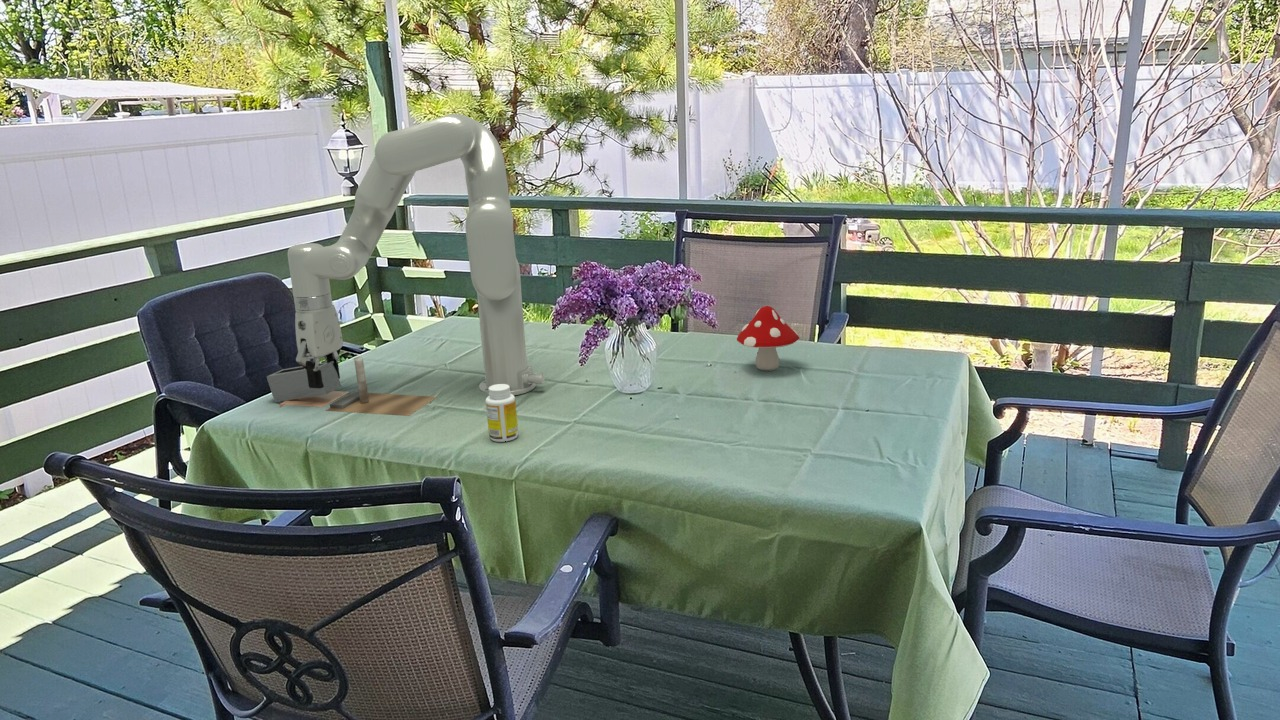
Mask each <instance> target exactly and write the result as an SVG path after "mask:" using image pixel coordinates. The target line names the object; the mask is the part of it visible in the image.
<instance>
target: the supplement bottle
mask: <svg viewBox="0 0 1280 720" xmlns="http://www.w3.org/2000/svg"><path fill="white" fill-rule="evenodd" d="M485 409H486V418H487V427H488V435H489V436H488V437H489V439H490V440H491V441H493V442H497V443H504V442H505V441H506V442H510V441H513V440H515V439H517V438H518V436H519V425H518V417H517V414H518V413H517V407H516V398H515V395H512V394H510V386H509V385H507V384H496V385H492V386H490V387H489V393H488V396H487V397H485Z"/></svg>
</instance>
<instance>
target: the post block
mask: <svg viewBox="0 0 1280 720" xmlns="http://www.w3.org/2000/svg"><path fill="white" fill-rule="evenodd" d="M353 360H354V368H355V376H356V382H357V388H358V390H353V391H352V392H349V393H347V394H346V395H344V396H342V397H340V398H338V399H336V400H335V401H333V402H331V403H329V408H327V409H325V411H326V412H341V413H359V414H370V415H389V416H390V415H391V416H403V417H404V416H405V417H410V416H411V415H413V414H414V413H416V412H418V410H421V409H422V408H423V407H425V406H427V405H428V404H429V403H431V402H432V401H433V400H434V401H435V399H438V396H433V395H431V396H430V395H413V394H398V393H397V394H396V393H395V394H394V393H380V392H379V393H375V392H374V393H373V392H368V386H367V385H368V384H367V378H366V372H365V371H366V370H365V364H364V357H363V356H355V357H354V358H353Z"/></svg>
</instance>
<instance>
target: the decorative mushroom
mask: <svg viewBox="0 0 1280 720" xmlns="http://www.w3.org/2000/svg"><path fill="white" fill-rule="evenodd" d="M799 340H800V336H799V334H798V332H797V331H796V330H794V329H793V328H791V326H789V324H787V323H786V322H785V319H783V318H782V317H781V316H780V315H779V313H778V312H777V311H776V310H775V309H774V307H772V306H771V305H770V306H769V305H765V306H762V307H760V308H759V309H758V310H757V311H756V313H755V314H754V317H753V318H752V319H751V320H750V321H749V322H748V323H747V324H745V325H744V326H743V327H742V329H741V330H740V332H739V333H738V334H737V337H736V341H737V342H738V343H739V344H741V345H743V346H745V347H748V348H756V349H757V348H758V351H757V353H756V358H755V361H754V364H755V367H756V368H757V369H759V370H761V371H764V372H765V371H766V372H767V371H769V372H771V371H774V370H776V369H778V368H779V366H780V363H781V362H780V358H779V354H778V351H777V348H782V347H787V346H790V345H792V344H794V343H796V342H797V341H799Z"/></svg>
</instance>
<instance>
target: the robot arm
mask: <svg viewBox="0 0 1280 720" xmlns="http://www.w3.org/2000/svg"><path fill="white" fill-rule="evenodd" d="M458 159H460V160H461V161H462V164H463V167H464V173H465V174H464V175H465V177H464V178H465V183H466V185H465V186H466V189H467V199H468V212H467V214H466V218H465V222H464V223H465V224H464V225H465V238H466V245H467V253H468V260H469V261H468V262H469V270H470V279H471V282H472V283H471V284H472V286H473V288H474V289H475V291H476V295H477V296H476V297H477V308H478V309H477V310H478V316H479V317H478V319H479V331H480V340H481V349H482V358H483V359H482V360H483V369H484V371H483V372H484V380H483V381H481V382H480V384H479V385H478V390H479V391H481V392H483V393H485V394H489V387H490V386H492V385H496V384H507V385H509V386H510V394H512V395H514V396H518V395H523V394H526V393H528V392H530V391H532V390H534V389H535V388H536V386H537V384H538V385H544V383H545V382H546V379H545V375H544V372H534V371H533V365H528V359H527V358H528V355H527V346H526V336H525V335H526V334H525V323H524V311H523V310H524V309H523V297H522V295H523V294H522V282H521V269H520V268H521V267H520V264H519V261H518V259H517V257H516V256H517V254H516V244H515V235H514V234H515V233H514V217H513V216H514V215H513V211H512V209H511V208H512V206H511V200H510V193H509V185H508V178H507V169H506V164H505V159H504V154H503V151H502V147H501V146H500V143H499V142H498V139H497V138H496V137H495V135H494V134H493V133H492V131H490V130H489V128H487V127H486V126H485V125H484V124H482V123H481V122H479V121H478V120H475V119H474V118H472V117H469V116H466V115H464V114H460V113H459V114H458V113H451V114H447V115H444V116H440V117H437V118H435V119H431V120H428V121H426V122H425V121H423V122H421V123H419V124H418V123H417V124H415V125H412V126H409V127H404V128H400V129H397V130H393V131H388V132H386V133H384V134H383V135H382V136H381V137H379V139H378V140H377V142H376V144H375V147H374V157H373V159H372V161H371V163H370V164H369V167H368V169H367V171H366V172H365V174H364V175H363V178H362V180H361V181H360V184H359V185H358V187H357V189H356V192H355V195H354V207H353V210H352V213H351V215H350V217H349V220H348V222H347V224H346V225H345V227H344V230H343V231H342V233H341V234H340V237H339V239H338V240H337V241H336V242H335V243H333V244H332V245H331V244H330V245H326V246H323V245H321V244H319V243H315V242H311V243H309V242H308V243H301V244H295V245H294V244H293V245H291V246H290V247H289V248H288V250H287V259H288V260H287V261H288V267H289V269H288V270H289V273H290V274H289V275H290V282H291V287H292V288H291V289H292V293H293V294H292V295H293V301H294V308H295V309H294V310H295V314H294V315H295V319H294V321H295V323H294V326H295V327H294V328H295V338H296V340H295V341H296V347H297V355H296V357H295V361H296V363H298V364H299V365H300V366H302V367H304V370H305V371H307V377H308V384H309V387H310V388H319V389H321V388H323V383H322V375H321V370H318V369H319V363H320V359H321V358H324V359H325V361H324V362H329V361H334V365H335V368H336V371H337V374H338V377H339V380H341V375H340V368H339V367H340V366H339V361H340V356H339V355H340V352H341V348H342V347H343V345H344V341H343V335H342V330H341V329H342V328H341V324H340V320H339V316H338V311H337V310H336V309H337V308H336V307H335V305H334V304H333V298H332V293H331V284H330V280H337V281H338V280H339V281H341V280H344V281H345V280H349V279H352V278H353V277H355V276H356V275H357V274H358V273H359V272H360V271H361V270H362V269H363V268H364V267H365V266H366V265H367V263H368V262H369V259H370V258H371V256H372V255H373V252H374V250H375V248H376V247H377V246H378V243H379V241H380V239H381V237H382V235H383V233H384V232H385V229H386V227H387V225H388V224H389V222H390V221H391V219H392V217H393V215H394V213H395V212H396V209H397V207H398V206H399V204H400V201H401V200H402V197H404V194H405V192H406V190H407V189H408V187H409V185H410V183H411V182H412V180H413V178H414V176H415V174H416V172H417V171H418V172H419V171H422V170H425V169H429V168H432V167H436V166H437V165H441V164H445V163H448V162H452V161H455V160H458ZM311 360H313V362H312V361H311Z"/></svg>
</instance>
